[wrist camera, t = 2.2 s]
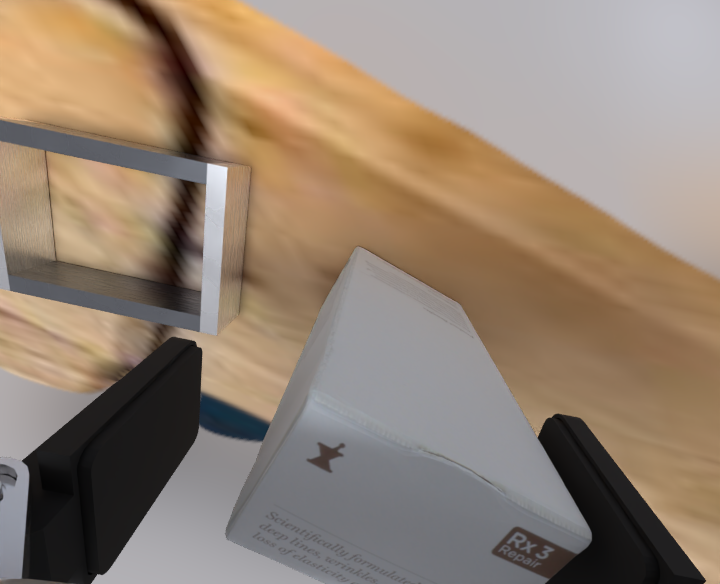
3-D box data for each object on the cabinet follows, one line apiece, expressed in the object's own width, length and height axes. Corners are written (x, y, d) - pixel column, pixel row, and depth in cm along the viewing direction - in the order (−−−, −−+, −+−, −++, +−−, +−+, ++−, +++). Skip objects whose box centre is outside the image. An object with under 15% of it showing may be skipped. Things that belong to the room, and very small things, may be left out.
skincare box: (317, 313, 19) (197, 550, 7) (360, 237, 17) (292, 386, 6) (421, 369, 19) (460, 671, 8) (471, 300, 18) (610, 549, 6)
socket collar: (251, 166, 16) (227, 167, 14) (238, 314, 19) (216, 335, 17) (24, 119, 17) (-36, 112, 14) (42, 272, 19) (-7, 287, 17)
